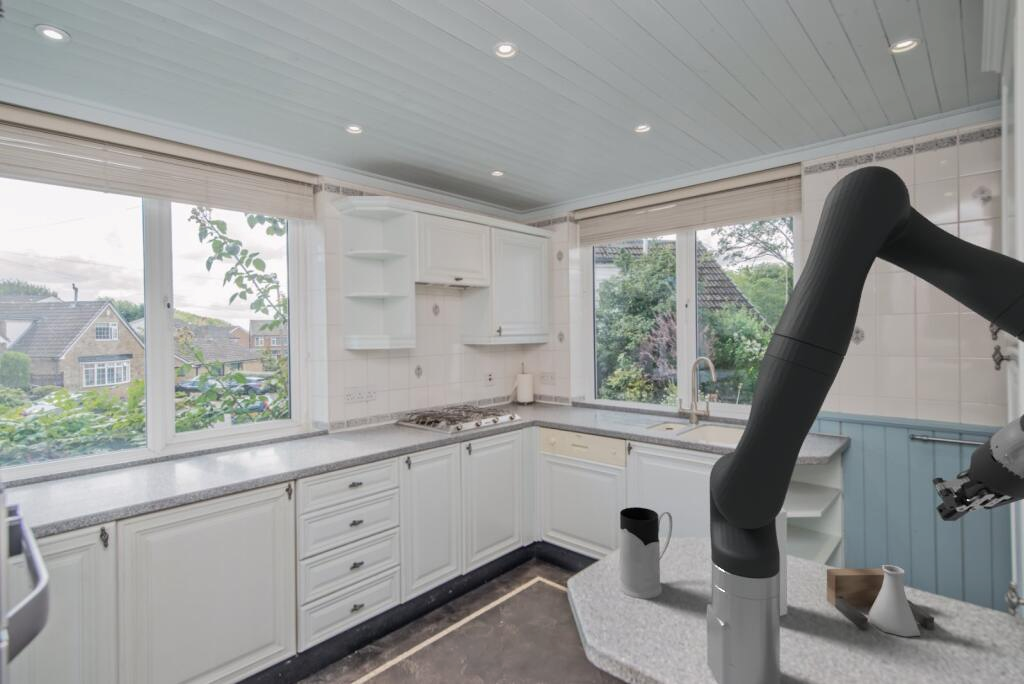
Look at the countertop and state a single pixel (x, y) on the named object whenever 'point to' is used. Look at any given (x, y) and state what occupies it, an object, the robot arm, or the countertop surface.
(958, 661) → the countertop surface
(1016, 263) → the robot arm
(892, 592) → the flask
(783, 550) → the milk
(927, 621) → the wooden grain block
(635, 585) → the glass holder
